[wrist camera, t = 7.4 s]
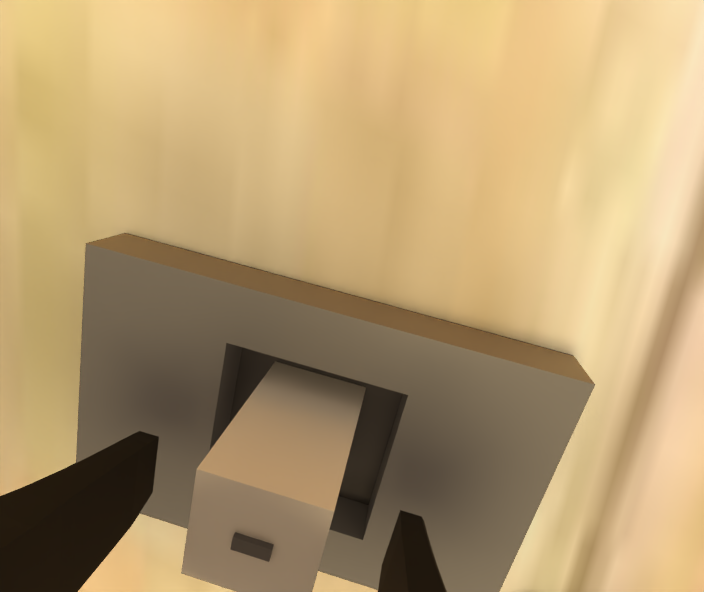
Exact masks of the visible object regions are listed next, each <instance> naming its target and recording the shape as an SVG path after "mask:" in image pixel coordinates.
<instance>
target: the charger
mask: <svg viewBox="0 0 704 592" xmlns="http://www.w3.org/2000/svg"><path fill="white" fill-rule="evenodd" d="M365 390H366V387H363V386H359V385H356V384H352V383H349V382H345V381H342V380H338V379H335V378H331V377H328V376H324V375H321V374H317V373H314V372H310V371H307V370H303V369H300V368H296V367H293V366H289V365H286V364H282V363H279V362H275V363H274V364H273V365H272V367H271V368H270V369H269V371H268V372H267V374H266V375H265V376H264V378H263V379H262V380H261V382H260V383H259V384H258V386H257V387H256V389H255V390H254V391H253V393H252V394H251V395H250V397H249V398H248V399H247V401H246V402H245V404H244V405H243V406H242V408H241V409H240V410H239V412H238V413H237V414H236V416H235V417H234V419H233V420H232V421H231V423H230V424H229V425H228V427H227V428H226V429H225V431H224V432H223V434H222V435H221V436H220V438H219V439H218V440H217V442H216V443H215V444H214V446H213V447H212V449H211V450H210V451H209V453H208V454H207V455H206V457H205V458H204V460H203V461H202V462H201V464H200V465H199V466H198V468H197V470H196V476H195V483H194V490H193V497H192V504H191V510H190V517H189V524H188V531H187V538H186V544H185V551H184V558H183V565H182V572H181V573H182V574H185V575H188V576H191V577H194V578H197V579H200V580H203V581H206V582H209V583H212V584H215V585H218V586H221V587H224V588H227V589H230V590H233V591H236V592H312V590H313V587H314V583H315V579H316V576H317V572H318V568H319V565H320V561H321V558H322V554H323V550H324V547H325V543H326V540H327V536H328V532H329V529H330V525H331V522H332V518H333V514H334V511H335V507H336V503H337V499H338V495H339V491H340V487H341V483H342V479H343V476H344V472H345V468H346V464H347V460H348V456H349V452H350V448H351V444H352V441H353V437H354V433H355V429H356V425H357V421H358V417H359V413H360V409H361V406H362V402H363V398H364V394H365Z"/></svg>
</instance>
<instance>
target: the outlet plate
mask: <svg viewBox="0 0 704 592" xmlns="http://www.w3.org/2000/svg"><path fill="white" fill-rule="evenodd" d="M275 362H279V363H282V364H286V365H289V366H293V367H296V368H300V369H303V370H307V371H310V372H314V373H317V374H321V375H324V376H328V377H331V378H335V379H338V380H342V381H345V382H349V383H352V384H356V385H359V386H363V387H366V390H365V394H364V398H363V402H362V406H361V409H360V413H359V417H358V421H357V425H356V429H355V433H354V437H353V441H352V444H351V448H350V452H349V456H348V460H347V464H346V468H345V472H344V476H343V479H342V483H341V487H340V491H339V495H338V499H337V503H336V507H335V511H334V514H333V518H332V522H331V525H330V529H329V532H328V536H327V540H326V543H325V547H324V550H323V554H322V558H321V561H320V565H319V568H318V571H320V572H323V573H327V574H330V575H333V576H336V577H339V578H342V579H345V580H348V581H351V582H354V583H358V584H361V585H364V586H367V587H370V588H373V589H376V590H378V587H379V580H380V574H381V567H382V563H383V560H384V557H385V554H386V551H387V548H388V545H389V542H390V539H391V536H392V533H393V530H394V527H395V524H396V521H397V518H398V515H399V512H400V510H402V511H405V512H409V513H412V514H415V515H418V516H422V518H423V520H424V522H425V526H426V530H427V534H428V537H429V541H430V544H431V548H432V551H433V554H434V557H435V560H436V563H437V566H438V569H439V572H440V575H441V577H442V580H443V583H444V585H445V588H446V591H447V592H499V591H500V589H501V587H502V585H503V583H504V581H505V578H506V576H507V574H508V572H509V570H510V568H511V565H512V563H513V561H514V559H515V557H516V555H517V552H518V550H519V548H520V546H521V544H522V542H523V539H524V537H525V535H526V533H527V531H528V529H529V526H530V524H531V522H532V520H533V518H534V516H535V513H536V511H537V509H538V507H539V505H540V503H541V500H542V498H543V496H544V494H545V492H546V490H547V487H548V485H549V483H550V481H551V479H552V477H553V475H554V472H555V470H556V468H557V466H558V464H559V462H560V459H561V457H562V455H563V453H564V451H565V449H566V446H567V444H568V442H569V440H570V438H571V436H572V433H573V431H574V429H575V427H576V425H577V423H578V420H579V418H580V416H581V414H582V412H583V410H584V407H585V405H586V403H587V401H588V399H589V397H590V394H591V392H592V390H593V388H594V386H595V384H594V383H593V381H592V380H591V379H590V377H589V376H588V374H587V373H586V372H585V370H584V369H583V368H582V366H581V365H580V364H579V362H578V361H577V360H576V358H575V357H574V356H572V355H568V354H565V353H561V352H557V351H554V350H550V349H546V348H543V347H539V346H535V345H532V344H528V343H524V342H521V341H517V340H513V339H510V338H506V337H503V336H499V335H495V334H492V333H488V332H484V331H481V330H477V329H473V328H470V327H466V326H462V325H459V324H455V323H451V322H448V321H444V320H440V319H437V318H433V317H429V316H426V315H422V314H419V313H415V312H411V311H408V310H404V309H400V308H397V307H393V306H389V305H386V304H382V303H378V302H375V301H371V300H367V299H364V298H360V297H356V296H353V295H349V294H346V293H342V292H338V291H335V290H331V289H327V288H324V287H320V286H316V285H313V284H309V283H305V282H302V281H298V280H294V279H291V278H287V277H283V276H280V275H276V274H273V273H269V272H265V271H262V270H258V269H254V268H251V267H247V266H243V265H240V264H236V263H232V262H229V261H225V260H221V259H218V258H214V257H210V256H207V255H203V254H200V253H196V252H192V251H189V250H185V249H181V248H178V247H174V246H170V245H167V244H163V243H159V242H156V241H152V240H148V239H145V238H141V237H137V236H134V235H130V234H126V233H124V234H120V235H116V236H112V237H108V238H105V239H101V240H97V241H93V242H89V243H86V251H85V273H84V296H83V319H82V341H81V364H80V387H79V409H78V432H77V455H76V463H77V462H79V461H81V460H83V459H85V458H87V457H89V456H91V455H93V454H95V453H97V452H99V451H101V450H103V449H105V448H107V447H109V446H111V445H113V444H115V443H116V442H118V441H120V440H122V439H124V438H126V437H128V436H130V435H132V434H134V433H136V432H138V431H142V432H145V433H148V434H152V435H155V436H158V437H159V442H158V450H157V459H156V468H155V477H154V485H153V493H152V494H151V496H150V498H149V499H148V501H147V502H146V504H145V506H144V507H143V509H142V510H141V512H140V514H144V515H147V516H150V517H153V518H156V519H159V520H162V521H165V522H168V523H172V524H175V525H178V526H181V527H184V528H187V529H188V524H189V517H190V510H191V504H192V497H193V490H194V483H195V476H196V470H197V468H198V466H199V465H200V464H201V462H202V461H203V460H204V458H205V457H206V455H207V454H208V453H209V451H210V450H211V449H212V447H213V446H214V444H215V443H216V442H217V440H218V439H219V438H220V436H221V435H222V434H223V432H224V431H225V429H226V428H227V427H228V425H229V424H230V423H231V421H232V420H233V419H234V417H235V416H236V414H237V413H238V412H239V410H240V409H241V408H242V406H243V405H244V404H245V402H246V401H247V399H248V398H249V397H250V395H251V394H252V393H253V391H254V390H255V389H256V387H257V386H258V384H259V383H260V382H261V380H262V379H263V378H264V376H265V375H266V374H267V372H268V371H269V369H270V368H271V367H272V365H273V364H274V363H275Z"/></svg>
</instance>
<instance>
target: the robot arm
mask: <svg viewBox="0 0 704 592" xmlns="http://www.w3.org/2000/svg"><path fill="white" fill-rule="evenodd" d="M158 442H159V437H158V436H155V435H152V434H148V433H145V432H142V431H138V432H136V433H134V434H132V435H130V436H128V437H126V438H124V439H122V440H120V441H118V442H116V443H115V444H113V445H111V446H109V447H107V448H105V449H103V450H101V451H99V452H97V453H95V454H93V455H91V456H89V457H87V458H85V459H83V460H81V461H79V462H77V463H75V464H73V465H71V466H69V467H67V468H65V469H63V470H60V471H58V472H56V473H54V474H52V475H49V476H47V477H45V478H43V479H41V480H38V481H36V482H34V483H32V484H29V485H27V486H25V487H22V488H20V489H18V490H15V491H13V492H10V493H8V494H5V495H2V496H0V592H78V590H79V589H80V588H81V587H82V586H83V584H84V583H85V582H86V581H87V579H88V578H89V577H90V576H91V575H92V573H93V572H94V571H95V570H96V568H97V567H98V566H99V565H100V564H101V562H102V561H103V560H104V559H105V558H106V556H107V555H108V554H109V553H110V551H111V550H112V549H113V548H114V547H115V545H116V544H117V543H118V542H119V540H120V539H121V538H122V537H123V535H124V534H125V533H126V532H127V530H128V529H129V528H130V527H131V525H132V524H133V522H134V521H135V519H136V518H137V516H138V515H139V513H140V512H141V510H142V509H143V507H144V506H145V504H146V502H147V501H148V499H149V498H150V496H151V494H152V493H153V485H154V477H155V468H156V459H157V450H158ZM378 592H447V591H446V588H445V585H444V583H443V580H442V577H441V575H440V572H439V569H438V566H437V563H436V560H435V557H434V554H433V551H432V548H431V544H430V541H429V537H428V534H427V530H426V526H425V522H424V520H423V518H422V516H418V515H415V514H412V513H409V512H405V511H402V510H400V512H399V515H398V518H397V521H396V524H395V527H394V530H393V533H392V536H391V539H390V542H389V545H388V548H387V551H386V554H385V557H384V560H383V563H382V567H381V574H380V580H379V587H378Z"/></svg>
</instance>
